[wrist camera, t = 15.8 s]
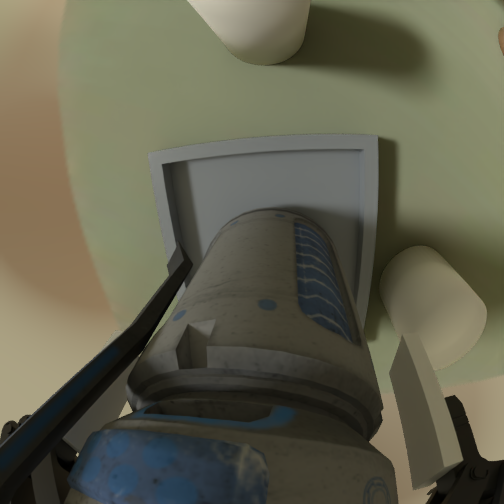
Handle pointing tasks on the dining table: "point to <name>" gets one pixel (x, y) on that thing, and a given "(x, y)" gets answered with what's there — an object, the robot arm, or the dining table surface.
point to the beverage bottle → (229, 385)
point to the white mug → (432, 304)
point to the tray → (273, 193)
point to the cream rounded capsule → (257, 27)
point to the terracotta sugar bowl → (501, 39)
